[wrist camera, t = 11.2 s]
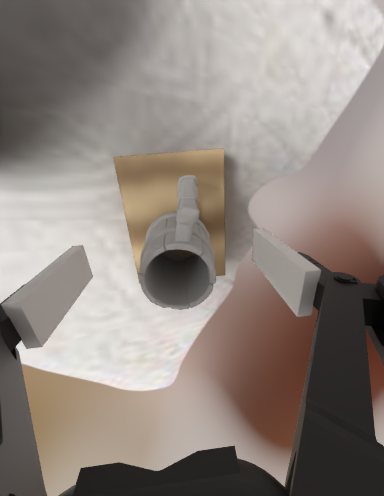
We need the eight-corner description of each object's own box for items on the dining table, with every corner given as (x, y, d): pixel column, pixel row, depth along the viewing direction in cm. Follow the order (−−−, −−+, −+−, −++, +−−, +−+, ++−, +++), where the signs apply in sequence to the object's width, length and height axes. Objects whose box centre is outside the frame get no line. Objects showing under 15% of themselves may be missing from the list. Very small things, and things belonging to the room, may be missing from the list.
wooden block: (126, 158, 27) (113, 156, 21) (214, 152, 27) (223, 148, 21) (146, 263, 33) (139, 283, 27) (217, 257, 33) (225, 275, 28)
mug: (145, 262, 26) (121, 333, 15) (152, 167, 22) (125, 167, 11) (202, 268, 27) (219, 339, 16) (219, 177, 23) (258, 188, 12)
